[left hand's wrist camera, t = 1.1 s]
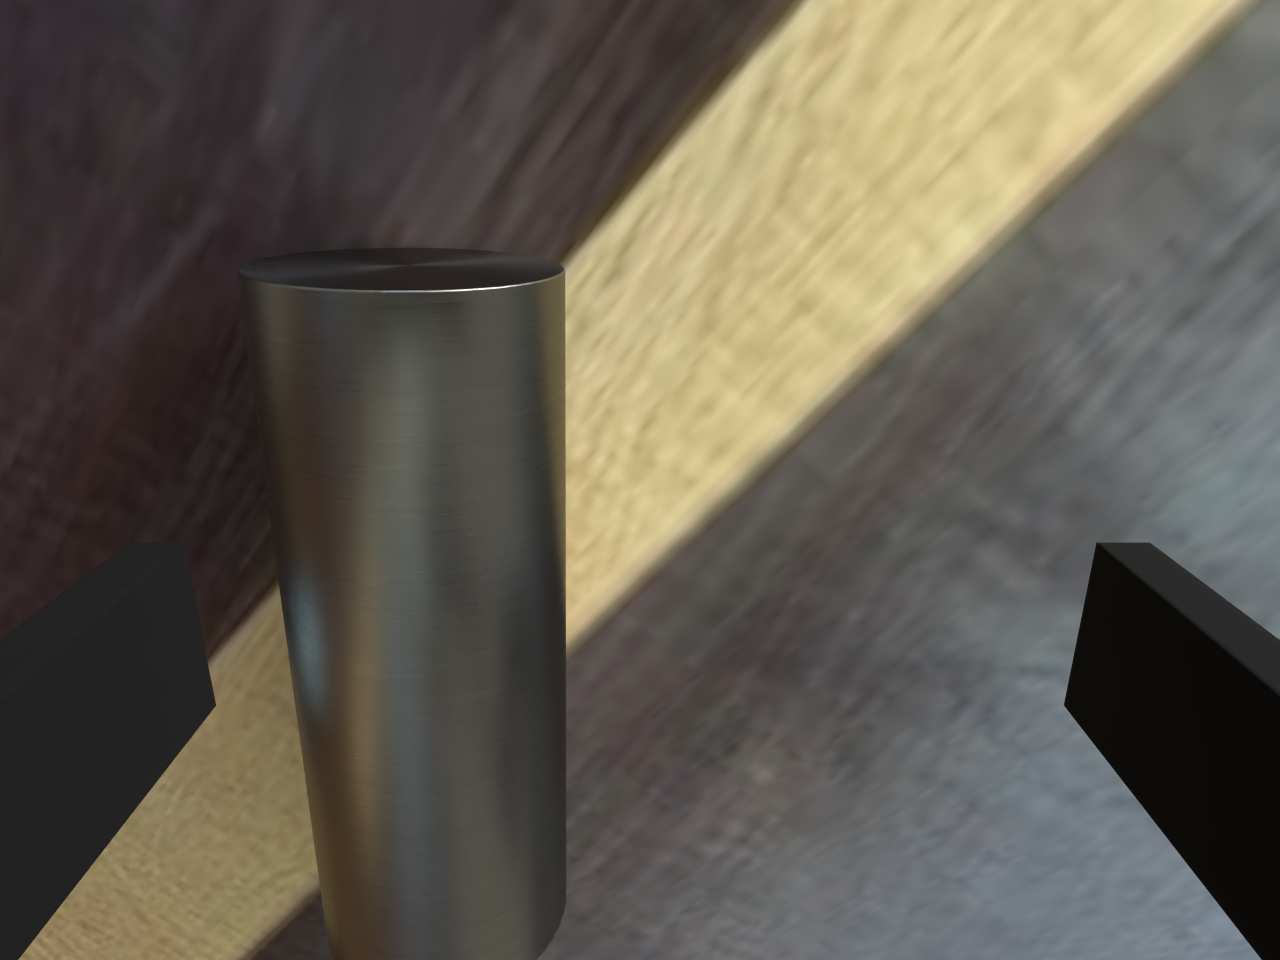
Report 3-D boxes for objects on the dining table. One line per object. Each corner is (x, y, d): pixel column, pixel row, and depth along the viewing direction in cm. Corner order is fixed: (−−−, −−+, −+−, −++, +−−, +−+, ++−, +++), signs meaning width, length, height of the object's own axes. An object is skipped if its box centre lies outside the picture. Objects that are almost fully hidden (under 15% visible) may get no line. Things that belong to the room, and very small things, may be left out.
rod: (307, 244, 27) (170, 283, 19) (576, 252, 27) (548, 295, 19) (367, 812, 35) (288, 1004, 27) (574, 818, 35) (554, 1010, 27)
